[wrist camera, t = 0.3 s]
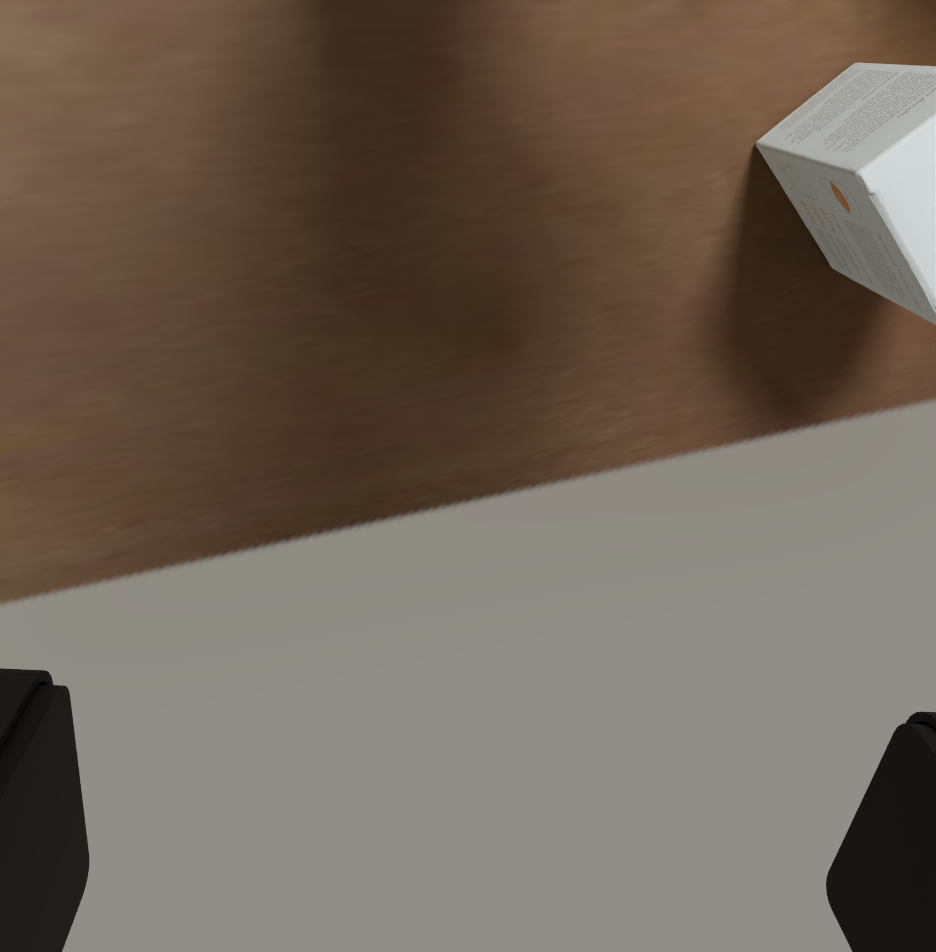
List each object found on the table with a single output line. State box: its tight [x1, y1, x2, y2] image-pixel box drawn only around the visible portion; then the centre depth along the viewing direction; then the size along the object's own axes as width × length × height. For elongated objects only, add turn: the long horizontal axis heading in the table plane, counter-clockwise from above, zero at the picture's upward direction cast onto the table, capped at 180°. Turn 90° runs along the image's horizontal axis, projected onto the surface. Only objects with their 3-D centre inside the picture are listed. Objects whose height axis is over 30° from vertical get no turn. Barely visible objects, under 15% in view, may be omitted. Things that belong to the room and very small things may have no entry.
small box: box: [756, 63, 936, 325], centre depth 36 cm, size 8×6×10 cm
